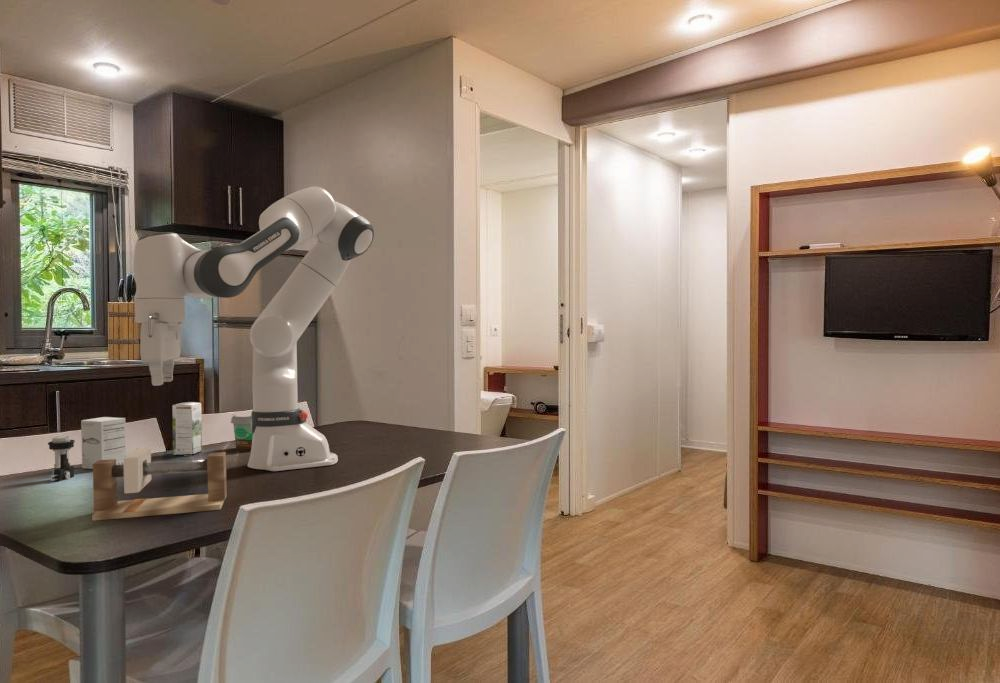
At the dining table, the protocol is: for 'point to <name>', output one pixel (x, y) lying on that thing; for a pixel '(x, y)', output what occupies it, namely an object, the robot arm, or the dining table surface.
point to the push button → (61, 458)
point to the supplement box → (103, 440)
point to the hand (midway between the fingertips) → (162, 383)
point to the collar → (136, 470)
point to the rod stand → (113, 509)
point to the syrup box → (187, 428)
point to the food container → (242, 432)
